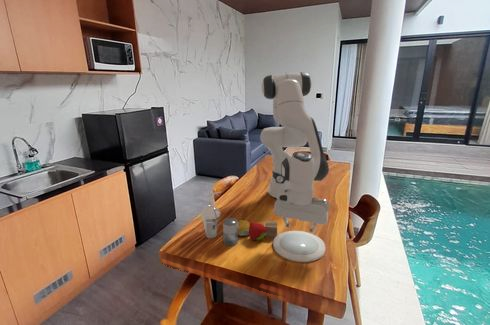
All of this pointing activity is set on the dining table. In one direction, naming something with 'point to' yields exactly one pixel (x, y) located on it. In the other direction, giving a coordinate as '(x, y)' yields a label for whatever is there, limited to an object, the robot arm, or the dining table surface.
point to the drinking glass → (230, 231)
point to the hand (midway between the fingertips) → (299, 229)
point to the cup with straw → (210, 218)
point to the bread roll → (243, 228)
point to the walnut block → (271, 229)
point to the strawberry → (256, 231)
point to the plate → (299, 246)
